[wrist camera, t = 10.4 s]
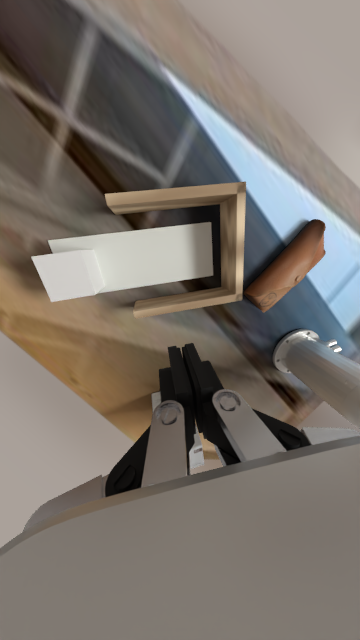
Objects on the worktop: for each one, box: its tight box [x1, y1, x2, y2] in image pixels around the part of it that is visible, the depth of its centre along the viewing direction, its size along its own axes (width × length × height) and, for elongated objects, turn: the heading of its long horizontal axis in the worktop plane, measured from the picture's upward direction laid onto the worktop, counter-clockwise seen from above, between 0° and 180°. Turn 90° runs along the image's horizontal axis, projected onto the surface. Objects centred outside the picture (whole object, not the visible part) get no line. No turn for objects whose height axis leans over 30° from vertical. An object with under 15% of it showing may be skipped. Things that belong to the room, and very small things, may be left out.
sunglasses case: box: [243, 219, 326, 312], centre depth 34 cm, size 18×7×7 cm
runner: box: [48, 222, 213, 293], centre depth 29 cm, size 26×9×1 cm, turn 96°
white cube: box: [31, 250, 105, 302], centre depth 26 cm, size 6×6×6 cm
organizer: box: [105, 182, 246, 319], centre depth 28 cm, size 16×18×6 cm
